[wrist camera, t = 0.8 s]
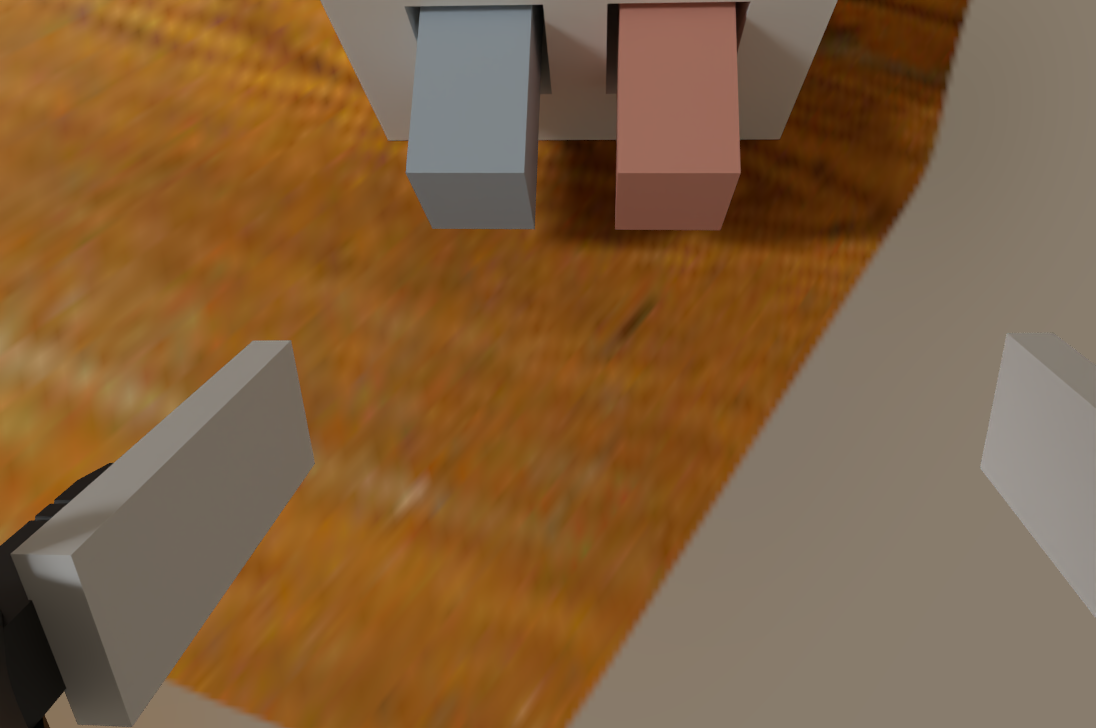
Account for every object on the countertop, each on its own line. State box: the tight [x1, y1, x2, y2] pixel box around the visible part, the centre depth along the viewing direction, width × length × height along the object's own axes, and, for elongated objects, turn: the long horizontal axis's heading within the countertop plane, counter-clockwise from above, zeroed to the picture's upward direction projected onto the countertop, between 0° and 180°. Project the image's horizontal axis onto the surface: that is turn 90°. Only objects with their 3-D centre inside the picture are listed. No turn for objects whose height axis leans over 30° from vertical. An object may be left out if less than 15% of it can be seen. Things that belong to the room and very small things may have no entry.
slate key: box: [406, 5, 544, 229], centre depth 34 cm, size 16×4×5 cm, turn 178°
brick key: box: [615, 2, 741, 230], centre depth 34 cm, size 16×4×5 cm, turn 178°
